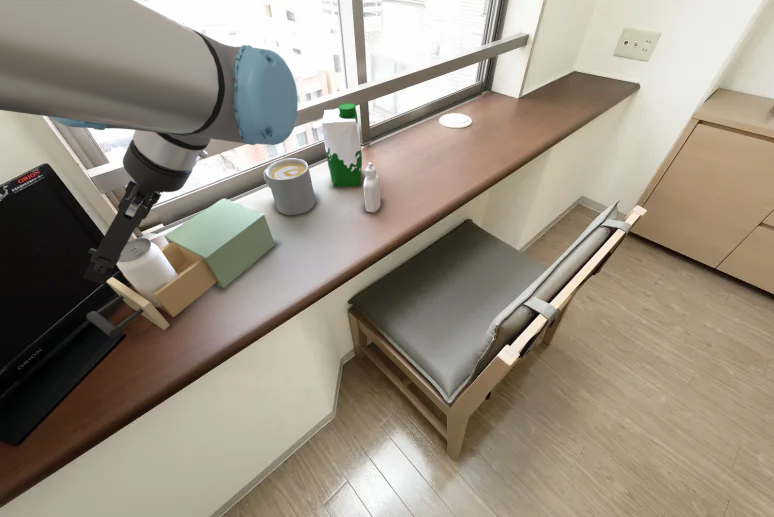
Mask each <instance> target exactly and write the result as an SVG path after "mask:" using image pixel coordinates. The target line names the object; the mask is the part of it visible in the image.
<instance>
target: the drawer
mask: <svg viewBox="0 0 774 517" xmlns="http://www.w3.org/2000/svg"><path fill="white" fill-rule="evenodd" d="M159 249H160V250H161V252H162V253H163V254H164V256H165V257H166V259H167V260H168V262H169V263H170V264H171V266H172V267H173V269H174V270H175V272H176V273H177V274H178V276H177V277H175V278H174V279H173V280H171V281H170V282H168V283H167V284H166V285H164V286H163V287H162V288H160V289H159V290H158V291H156V292H155V293H154V294H153V295H154V296H155V297H156V298H157V300H158V301H159V302H160V303H161V304H162V306H163V307H158V309H160V310H161V311H163V312H164V313H166V314H168V315H169V316H171V317H172V318H175V317H176V316H177V315H179V314H180V313H181V312H182V311H183V310H184V309H186V308H187V307H188V306H190V305H191V304H192V303H193V302H194V301H196V300H197V299H199V298H200V296H202V295H203V294H204V293H205V292H207V291H208V290H209V289H211V287H213V286H214V285H216V284H215V283H216V282H218V281H217V279H216V278H215V276H214V274H213V273H212V271H211V269H210V267H209V266H208V264H207V262H206V261H205V259H203V258H201V257H199V256H197V255H195V254H194V253H192V252H190V251H188V250H186V249H184V248H182V247H180V246H178V245H176V244H175V243H173V242H171V243H167V244H166V245H165V246H163V247H161V248H159ZM122 276H123V277H124V278H125V279H126V280H127V281H128V283H129V284H130V285H131V286H132V287H133V288H134V289H135V291H134V290H133V289H131V288H130V287H129V286H127V285H126V284H124V283H122V282H120V280H118V279H117V278H115V277H113V276H112V277H109V278H108V280H107V282H106V284H107V285H108V286H110V288H111V289H112V290H113V291H114V292H115V293H116V294H117V295H118V296H116V297H115V298H114V299H112V300H111V301H109V302H108V303H106V304H105V305H103V307H101V308H99V309H98V310H97V311H96V310H92V311H90V312H88V313H87V314H86V319H87V320H88V321H89V322H91V323H92V324H93V325H94V326H95V327H97V328H98V329H99V330H101V332H103V333H104V334H105V335H107V336H109V338H115V337H118V336H119V335H120V334H121V330H122V329H123V328H124V327H126V326H127V325H128V324H130V323H131V322H133V320H135V319H136V318H138V317H139V316H140V315H142V316H143V317H144V318H146V319H148V320H149V321H150V322H151V323H153V324H154V325H156V326H157V327H159V328H160V329H162V330H163V331H165V330H166V329H167V328H169V327H170V326H171V325H170V323H169V322H168V321H167V320H166V318H164V316H163V315H162V314H161V313H160V312H159V311H158V309H157V307H154V306H153V305H152V304H151V302H149V301H148V300H146V299H145V298H144V297H143V296H142V295H141V294H140V292H139V291H138V290H137V289H136V288H135V287H134V285H133V284H132V283H131V282H130V281H129V280H128V279H127V277H126V276H125V275H124V274H123V273H122ZM121 301H124V303H126V304H127V306H128V307H130V308H132V309H133V310H135V312H133V313H132V314H131V315H129V316H128V317H126V319H124V320H122V321H121V322H120V323H119V324H117V325H114V323H112V322H111V321H110V320H108V319H107V318H105V317H104V316H103V315H102V314H104V313H105V312H106V311H108V310H109V309H111V308H113V307H114V306H115V305H117V304H118V303H120V302H121Z"/></svg>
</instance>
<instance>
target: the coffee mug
mask: <svg viewBox="0 0 774 517" xmlns="http://www.w3.org/2000/svg"><path fill="white" fill-rule="evenodd" d="M310 172H311V171H310V168H309V165H308V163H307V161H305V160H304V159H301V158H291V157H290V158H282V159H278V160H276V161H274V162H272V163H271V164H269V165H268V166H267V168H265V170H264V171H263V173H262V175H263V179H264V182H265V185H266V186H267V187H268V188H269V189H270V191H271V195H272V196H273V199H274V203H275V207H276V209H277V211H278V212H279V213H281V214H283V215H286V216H297V215H302V214H305V213H307V212H309V211H310V210H312V209H313V208H314V206H315V205H316V202H317V201H316V200H317V199H316V195H315V191H314V190H315V189H314V187H313V182H312V177H311V173H310Z"/></svg>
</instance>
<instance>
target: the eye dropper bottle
mask: <svg viewBox="0 0 774 517" xmlns="http://www.w3.org/2000/svg"><path fill="white" fill-rule="evenodd" d="M367 164H368V165H367V166H366V167H365V169H364V173H365V178H364V180H363V195H364V204H365V205H364V207H365V212H367V213H376V212H377V211H378V210H379V209H380V207H381V205H382V200H381V199H382V198H381V185H380V183H381V182H380V176H379V175H378V174H377V168H376V166H373V163H372V162H368V163H367Z"/></svg>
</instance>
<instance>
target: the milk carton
mask: <svg viewBox="0 0 774 517" xmlns="http://www.w3.org/2000/svg"><path fill="white" fill-rule="evenodd" d="M356 106H357V105H356V104H355V103H352V102H344V103H341V104H339V105H338V108H335V109H326V110H325V109H324V112H323V116H322V120H321V127H322V128H321V129H322V137H323V143H324V148H325V155H326V161H327V167H328V170H329V174H330V177H331V182H332V184H333V188H351V187H361V182H362V169H363V156H362V144H361V133H360V126H359V119H358V113H357V112H358V111H357V108H356Z"/></svg>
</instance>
